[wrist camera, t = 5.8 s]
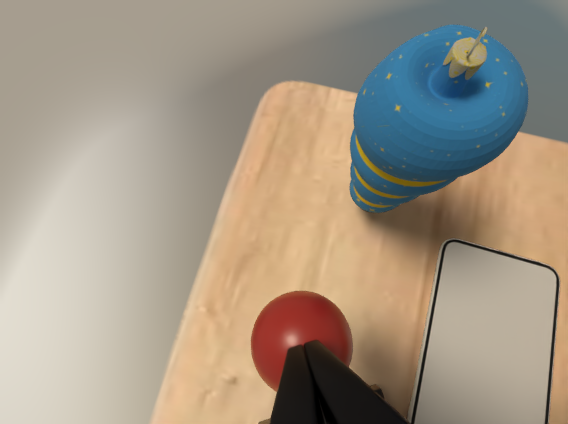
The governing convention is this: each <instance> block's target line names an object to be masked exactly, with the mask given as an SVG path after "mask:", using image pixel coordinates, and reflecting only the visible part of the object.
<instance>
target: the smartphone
mask: <svg viewBox="0 0 568 424" xmlns="http://www.w3.org/2000/svg"><path fill="white" fill-rule="evenodd" d="M559 294H560V278H559V275H558V273H557V271H556V270H555V269H554V268H553V267H551V266H550V265H548V264H545V263H542V262H539V261H535V260H532V259H528V258H525V257H521V256H517V255H514V254H510V253H507V252H503V251H500V250H496V249H493V248H489V247H486V246H482V245H479V244H475V243H472V242H468V241H465V240H461V239H456V238H452V239H448V240H446V241H444V242H443V243H442V244H441V246H440V249H439V253H438V258H437V264H436V269H435V274H434V280H433V285H432V290H431V296H430V301H429V306H428V312H427V317H426V323H425V328H424V333H423V339H422V344H421V349H420V355H419V360H418V365H417V371H416V376H415V382H414V387H413V392H412V398H411V400H410V405H409V410H408V415H407V420H408V421H409V422H410V423H411V424H549V416H550V404H551V391H552V379H553V367H554V355H555V343H556V330H557V318H558V306H559Z"/></svg>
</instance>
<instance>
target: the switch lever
mask: <svg viewBox="0 0 568 424" xmlns="http://www.w3.org/2000/svg"><path fill="white" fill-rule="evenodd" d="M316 339H317V340H319V341H320V342H321V343H322V344H323V345H325V346H326V347H327V348H328V349H329V350H330V351H331V352H332V353H333V354H334V355H336V356H337V357H338V358H339V359H340V360H341V361H342V362H343V363H344V364H346V365H347V366H348V367H349V365H350V362H351V358H352V352H353V341H352V334H351V330H350V327H349V324H348V322H347V320H346V318H345V316H344V315H343V313H342V312H341V311H340V309H339V308H338V307H337V306H336V305H335V304H334V303H332V302H331V301H330V300H328V299H327V298H325V297H324V296H321V295H319V294H317V293H313V292H308V291H294V292H289V293H286V294H283V295H281V296H279V297H277V298H275V299H274V300H272V301H271V302H270V303H269V304H268V305H266V306H265V308H264V309H263V310H262V311H261V313H260V314H259V316H258V318H257V320H256V322H255V324H254V328H253V331H252V336H251V352H252V358H253V361H254V364H255V367H256V369H257V371H258V373H259V375H260V376H261V378H262V379H263V380H264V381H265V383H266V384H267V385H268V386H270V387H271V388H272V389H273V390H274V391H276V392H277V390H278V386H279V382H280V378H281V374H282V370H283V366H284V362H285V358H286V354H287V350H288V348H290V347H293V346H296V345H299V344H301V345H303V347H304V343H306V342H309V341H312V340H316ZM305 354H306V353H305ZM319 402H320V401H319ZM320 406H321V405H320ZM321 409H322V408H321ZM322 413H323V412H322ZM323 417H324V415H323ZM324 420H325V418H324ZM325 424H326V421H325Z"/></svg>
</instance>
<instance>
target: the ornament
mask: <svg viewBox="0 0 568 424" xmlns="http://www.w3.org/2000/svg"><path fill="white" fill-rule="evenodd" d="M487 29H488V28H487V27H485V28H484V29H483V30H482V31H478V30H475V29H472V28H470V27H467V26H461V25H446V26H443V27H440V28H437V29H434V30H432V31H429V32H426V33H423V34H421V35H418V36H416V37H414V38H412V39H410V40H409V41H407V42H405V43H404V44H402V45H401V46H399V47H398V48H397V49H395V50H394V51H393V52H391V53H390V54H389V55H388V56H387V57H386V58H385V59H384V60H383V61H381V62H380V63H379V65H377V67H376V68H375V69H374V70H373V71H372V72H371V73H370V75H369V76H368V77H367V79H366V80H365V82H364V84H363V86H362V87H361V89H360V91H359V93H358V96H357V99H356V103H355V108H354V130H353V133H352V136H351V142H350V151H351V158H352V163H351V179H352V180H351V183H350V194H351V197H352V199H353V201H354V202H355V204H356V205H358V206H359V207H360V208H361V209H363V210H365V211H368V212H373V213H381V212H386V211H389V210H392V209H394V208H396V207H397V206H399V205H400V204H403V203H406V202H409V201H411V200H413V199H415V198H417V197H418V196H419V195H424V194H428V193H431V192H434V191H437V190H439V189H441V188H443V187H445V186H446V185H448V184H450V183H451V182H453V181H454V180H455V179H456V178H458V177H460V176H463V175H466V174H469V173H471V172H473V171H476V170H478V169H479V168H481V167H483V166H484V165H486V164H488V163H489V162H491V161H492V160H494V159H495V158H496V157H498V156H499V155H500V154H501V153H502V152H503V151H504V150H505V149H506V148H507V147H508V146H509V144H510V143H511V142H512V140H513V139H514V138H515V136H516V134H517V133H518V131H519V129H520V127H521V126H522V123H523V121H524V118H525V115H526V111H527V106H528V87H527V81H526V78H525V75H524V73H523V71H522V68H521V66H520V64H519V63H518V61H517V60H516V59H515V57H514V56H513V55H512V53H511V52H510V51H509V50H508V49H506V47H504V46H503V45H502V44H501V43H499V42H498V41H497V40H495V39H494V38H492V37H491V36H489V35H487V34H485V33H486V31H487Z"/></svg>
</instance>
